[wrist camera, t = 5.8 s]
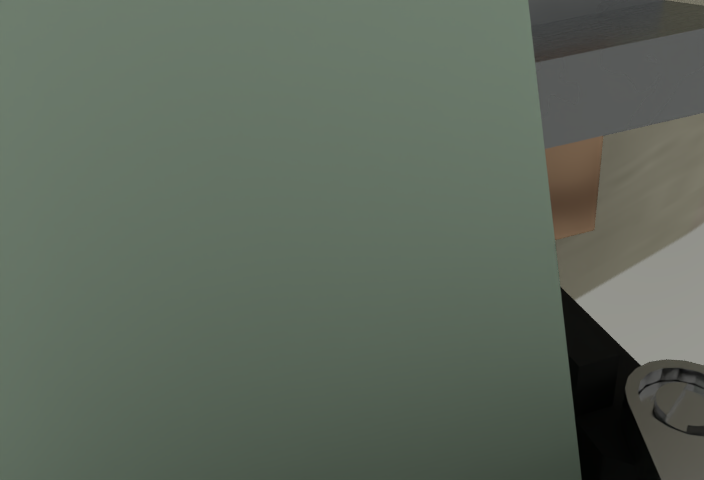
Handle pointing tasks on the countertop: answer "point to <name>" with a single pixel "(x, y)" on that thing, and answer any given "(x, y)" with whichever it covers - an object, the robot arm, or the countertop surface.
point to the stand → (608, 85)
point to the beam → (277, 243)
